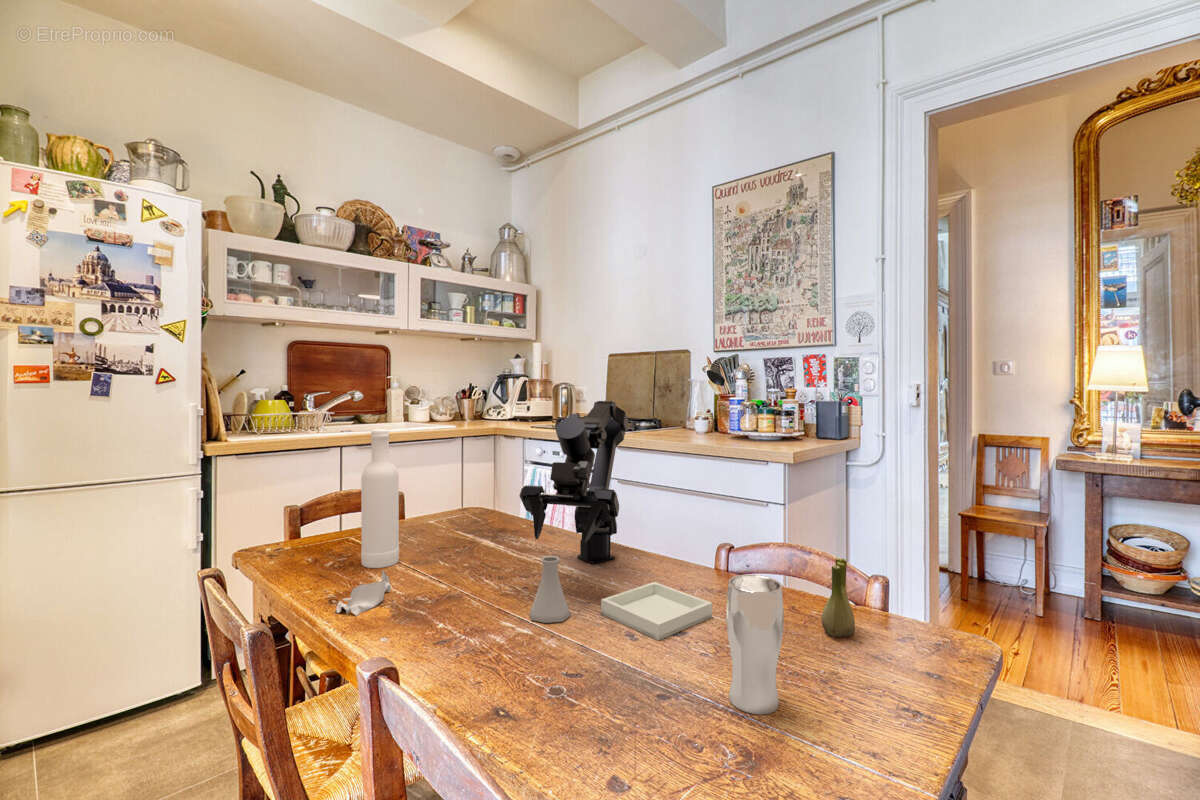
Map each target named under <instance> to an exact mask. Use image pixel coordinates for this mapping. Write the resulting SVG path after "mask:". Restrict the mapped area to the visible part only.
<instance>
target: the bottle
mask: <svg viewBox="0 0 1200 800" xmlns="http://www.w3.org/2000/svg"><path fill="white" fill-rule="evenodd" d="M370 432H371V435H370V439H371V442H370V443H371V448H370V449H371V461H370V462H369V463H368V464H367V465H366V466H365V467H364V469H363V470H362V471H363V472H362V474H361V477H360V478H361V481H360V482H361V483H360V485H361V488H360V489H361V495H360V496H361V500H360V503H361V512H360V513H361V517H360V518H361V522H360V523H361V550H360V559H361V565H362V567H364V568H367V569H381V568H387V567H392V566H394V565H396V564H397V563H398V562H399V558H400V557H399V556H400V544H399V541H400V540H399V538H400V537H399V535H400V532H399V531H400V530H399V526H400V523H399V521H400V519H399V518H400V517H399V516H400V514H399V511H400V510H399V508H400V507H399V504H400V503H399V502H400V501H399V499H400V497H399V495H400V494H399V493H400V492H399V481H400V480H399V479H400V478H399V472H398V470H397V467H396V465H395V464H394V463H392V462H391V461H390V449H389V448H390V447H389V446H390V445H389V444H390V443H389V442H390V441H389V440H390V431H389V429H388V428H377V429H372V430H371V431H370Z"/></svg>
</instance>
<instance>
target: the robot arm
mask: <svg viewBox="0 0 1200 800" xmlns="http://www.w3.org/2000/svg"><path fill="white" fill-rule="evenodd" d="M593 403H594V404H593V407H592V409H591V410H590V411H589V412H588V413H587V415H586V416H585V417H584V418H581V416H580V414H579V413H569V415H568V417H566V418H564V419H562V420H560V422H558V424H556V426H555V433H556V436H557V440H558V442H559V445H560V448H561V451H562V454H563V455H565V456H566V457H565V460H564V462H557V461H555V462H552V464H551V465H552V466H551V471H550V478H549V479H550V480H551V481H552V482H553V485H552V486H553V487H552V488H553V490H555V491H556V493H550V492H549V493H548V492H545V490H544V486H543V485H528V484H527V485H524V486H523V487H522V488H521V489H520V492H519V498H520V500H521V502H522V505H523V507H524V509H525V511H526V512H528V513H530V515H532V519H533V531H534V532H533V533H534V538H535V540H538V539H539V538H540V536H541V533H542V531H543V525H544V523H545V519H546V517H547V514H546V512H545V511H546V510H547V508H548V505H557V506H567V507H575V510H574V524H575V525H574V526H575V532H576V534H581V539H580V543H579V544H580V545H579V546H580V547H579V549H580V550H579V551H580V553H579V554H578V555H576V557H577V559H580V560H583V561H585V562H588V563H590V564H593V565H595V564H600V563H603V562H607V561H608V562H609V561H611V560H614V559H616V556H615V555H613V554H611V536H613V535H616V534H617V533H618V525H617V519H616V518H617V517H618V516H619V512H620V503H619V502H620V501H619V498H618V494H617V492H616V491H615V489H610V486H611V485H610V484H611V478H612V472H613V467H614V461H615V455H616V450H617V447H618V446H619V445H620V444H621V443H623V441H624V440H625V435H626V432H628V429H629V419H628V417H627V413H626V411H624V410H623V409H622V408H620V407H619V406H617V403H616V402H615V401H612V400H597V401H595V402H593ZM593 449H596V453H595V452H594V450H593Z"/></svg>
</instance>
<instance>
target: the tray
mask: <svg viewBox="0 0 1200 800" xmlns="http://www.w3.org/2000/svg"><path fill="white" fill-rule="evenodd" d="M600 614H601V615H603V616H605V617H608V618H610V619H612V620H614V621H616V622H617V623H620V624H623V625H624V626H626V627H629V628H630V629H633V630H635V631H638V632H639V633H641V634H643V635H646V636H648V637H649V638H652V639H654V640H656V641H661V640H663V639H665V638H668V637H670V636H672V635H675V634H676V633H677V634H678V633H680V632H681V631H684V630H686V629H688V628H690V627H693V626H695V625H698V624H699V623H700V624H701V623H702V622H704V621H706V620H708V619H712V617H713V602H712V601H708V600H706V599H703V598H700V597H697V596H694V595H692V594H690V593H687V592H684V591H680V590H678V589H676V588H672V587H670V586H667V585H664V584H662V583H658V582H656V581H653V582H649V583H646V584H643V585H640V586H638V587H634V588H632V589H629V590H628V589H627V590H626V591H622V592H620V593H617V594H614V595H611V596H608V597H605V598H601V599H600Z"/></svg>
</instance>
